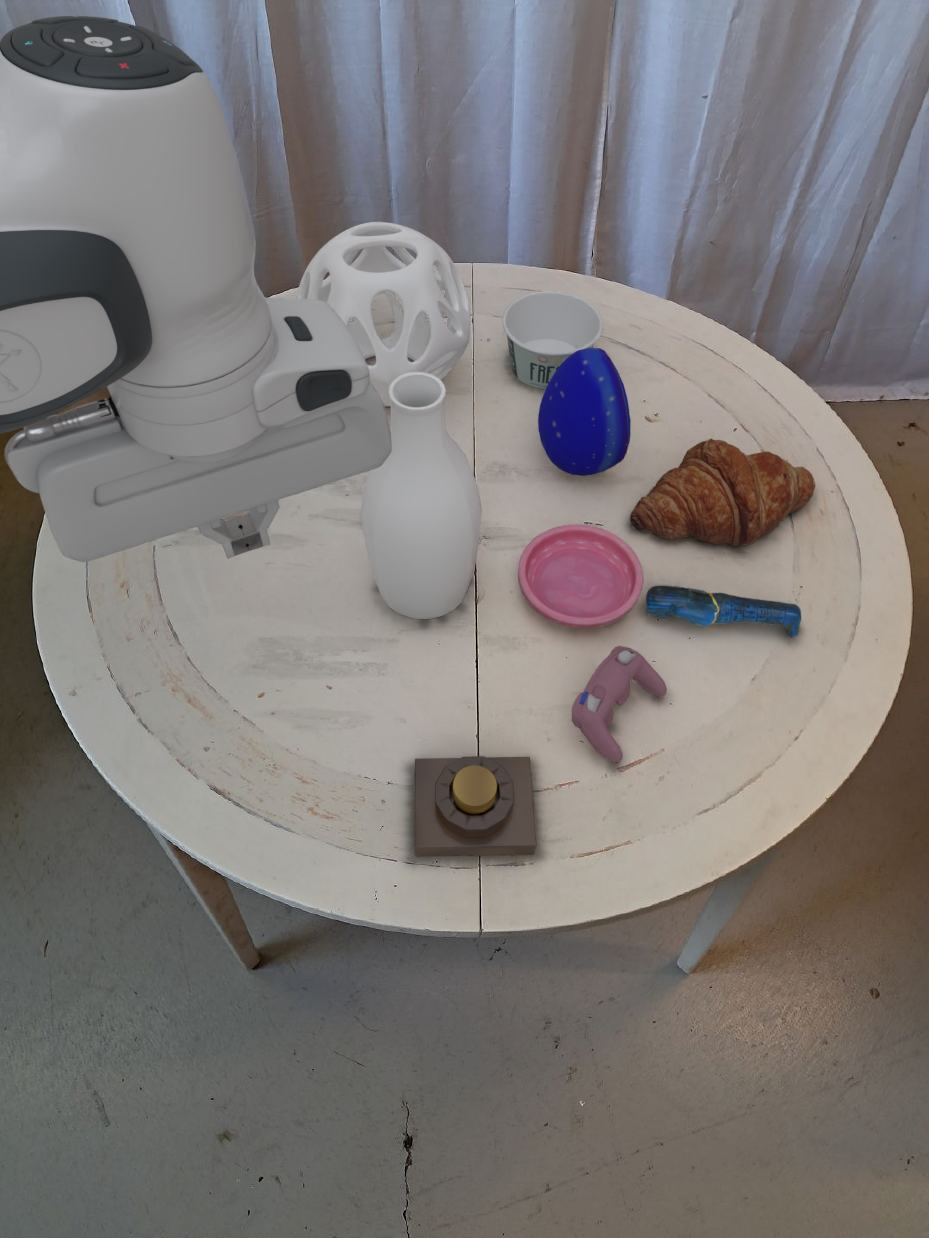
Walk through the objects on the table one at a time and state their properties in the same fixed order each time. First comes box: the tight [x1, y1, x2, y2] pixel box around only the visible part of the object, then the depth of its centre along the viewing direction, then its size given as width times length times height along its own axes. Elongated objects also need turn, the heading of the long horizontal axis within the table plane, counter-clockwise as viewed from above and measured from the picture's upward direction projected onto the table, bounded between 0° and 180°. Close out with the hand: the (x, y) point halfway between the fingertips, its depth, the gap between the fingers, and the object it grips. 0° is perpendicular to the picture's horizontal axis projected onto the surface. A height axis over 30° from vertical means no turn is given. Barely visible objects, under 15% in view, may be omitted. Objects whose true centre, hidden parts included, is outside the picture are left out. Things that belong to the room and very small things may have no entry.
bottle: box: [359, 372, 483, 620], centre depth 79 cm, size 11×11×25 cm
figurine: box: [645, 584, 802, 638], centre depth 87 cm, size 5×4×15 cm
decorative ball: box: [296, 221, 472, 408], centre depth 101 cm, size 20×20×17 cm
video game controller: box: [570, 645, 668, 763], centre depth 80 cm, size 10×5×7 cm, turn 145°
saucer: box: [517, 524, 644, 629], centre depth 89 cm, size 12×12×3 cm
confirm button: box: [453, 765, 497, 814], centre depth 72 cm, size 4×4×2 cm
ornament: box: [537, 347, 632, 477], centre depth 94 cm, size 11×9×15 cm
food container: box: [501, 290, 604, 391], centre depth 107 cm, size 12×12×6 cm
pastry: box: [629, 438, 817, 548], centre depth 93 cm, size 17×15×8 cm
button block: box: [413, 755, 537, 858], centre depth 74 cm, size 10×8×4 cm
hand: (245, 544), depth 58 cm, fingers closed
